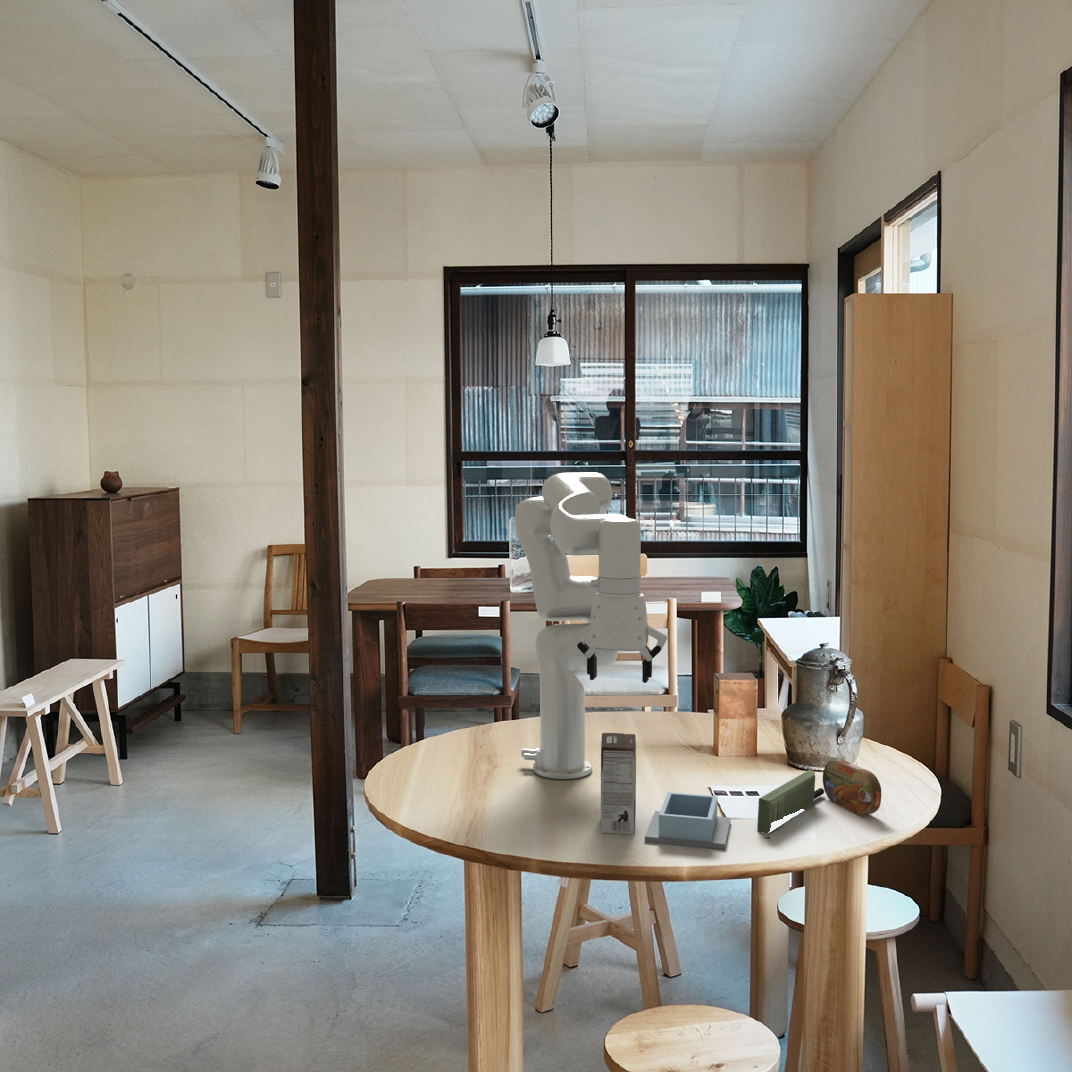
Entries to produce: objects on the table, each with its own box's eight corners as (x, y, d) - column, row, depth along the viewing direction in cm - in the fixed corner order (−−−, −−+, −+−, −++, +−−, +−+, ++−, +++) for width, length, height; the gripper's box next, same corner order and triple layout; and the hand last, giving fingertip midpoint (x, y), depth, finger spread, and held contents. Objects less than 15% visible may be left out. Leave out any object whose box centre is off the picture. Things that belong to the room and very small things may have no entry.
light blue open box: (644, 841, 184) (644, 814, 184) (655, 816, 197) (655, 790, 196) (725, 849, 181) (725, 821, 180) (730, 822, 193) (730, 796, 193)
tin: (820, 796, 208) (821, 755, 207) (834, 794, 209) (835, 753, 208) (869, 822, 194) (871, 778, 193) (883, 820, 195) (885, 776, 194)
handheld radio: (753, 832, 190) (812, 795, 209) (770, 837, 188) (828, 799, 207) (755, 796, 189) (814, 762, 208) (772, 801, 187) (830, 766, 206)
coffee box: (601, 815, 198) (601, 731, 196) (635, 816, 197) (636, 732, 195) (599, 833, 188) (600, 746, 187) (635, 834, 188) (636, 747, 186)
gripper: (568, 587, 187) (568, 682, 188) (664, 590, 183) (664, 687, 184) (577, 582, 194) (577, 673, 196) (670, 585, 190) (669, 678, 191)
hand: (619, 679), depth 190 cm, fingers open, 9 cm apart
